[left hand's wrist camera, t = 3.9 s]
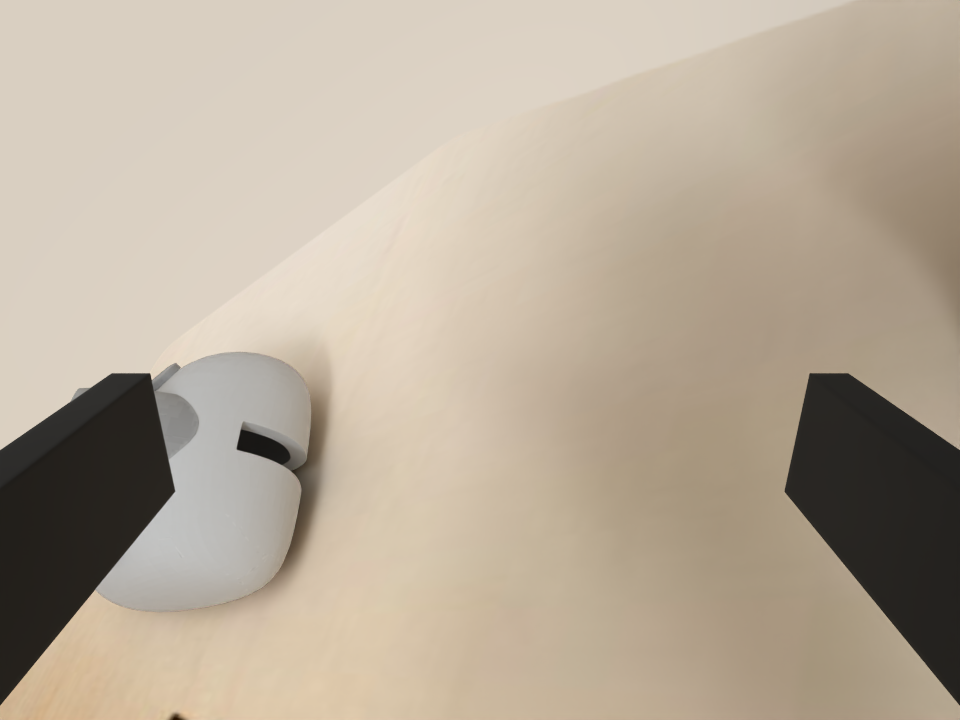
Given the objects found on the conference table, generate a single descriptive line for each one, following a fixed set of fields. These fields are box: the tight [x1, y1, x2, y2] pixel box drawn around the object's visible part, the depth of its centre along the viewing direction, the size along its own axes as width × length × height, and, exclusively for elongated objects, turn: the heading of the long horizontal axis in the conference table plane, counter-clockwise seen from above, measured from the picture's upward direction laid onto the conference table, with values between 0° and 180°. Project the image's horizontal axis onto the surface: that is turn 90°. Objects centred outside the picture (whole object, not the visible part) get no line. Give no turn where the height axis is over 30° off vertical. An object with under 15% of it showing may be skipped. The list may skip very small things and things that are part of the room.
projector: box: [71, 352, 311, 612], centre depth 41 cm, size 22×23×15 cm
